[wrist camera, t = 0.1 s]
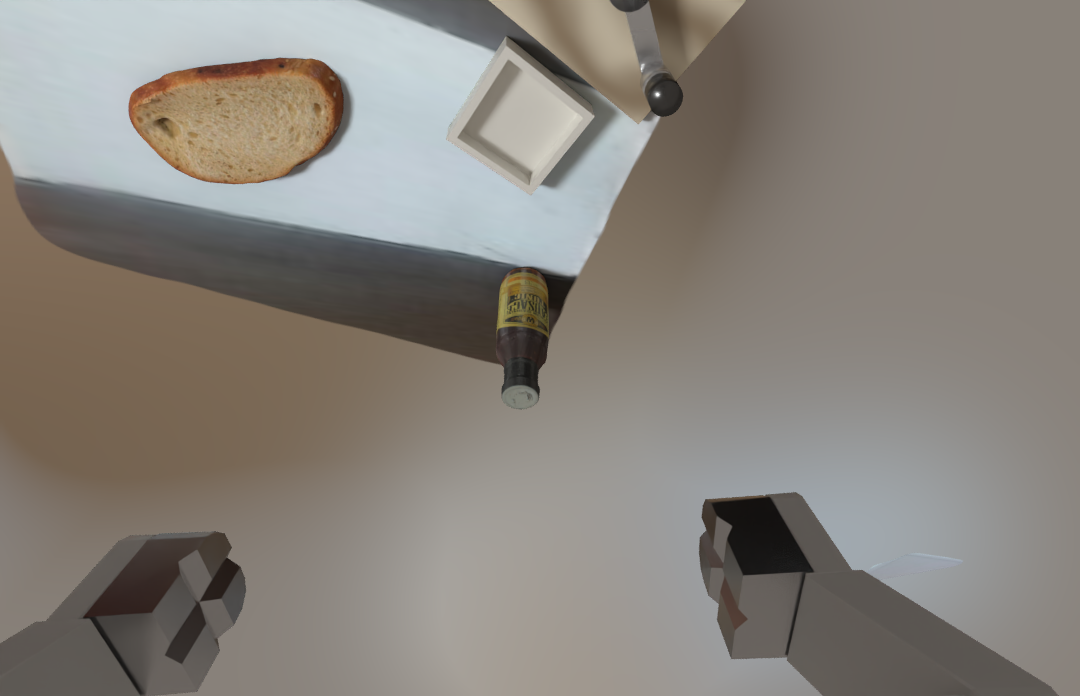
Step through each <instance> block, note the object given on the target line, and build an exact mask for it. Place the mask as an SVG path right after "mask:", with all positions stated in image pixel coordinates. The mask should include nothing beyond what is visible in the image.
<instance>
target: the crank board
mask: <svg viewBox="0 0 1080 696" xmlns="http://www.w3.org/2000/svg"><path fill="white" fill-rule="evenodd" d="M489 1H490V2H491V3H493V4H494V5H495V6H496V7H498V8H499V9H500V10H501V11H502V12H504V13H505V14H506V15H507V16H508V17H510V18H511V19H512V20H513V21H514V22H516V23H517V24H518V25H519V26H520V27H522V28H523V29H524V30H525V31H526V32H528V33H529V34H530V35H531V36H532V37H534V38H535V39H536V40H537V41H538V42H540V43H541V44H542V45H543V46H545V47H546V48H547V49H548V50H549V51H551V52H552V53H553V54H554V55H555V56H557V57H558V58H559V59H560V60H561V61H563V62H564V63H565V64H566V65H567V66H569V67H570V68H571V69H572V70H573V71H575V72H576V73H577V74H578V75H579V76H581V77H582V78H583V79H584V80H585V81H587V82H588V83H589V84H590V85H592V86H593V87H594V88H595V89H596V90H598V91H599V92H600V93H601V94H602V95H604V96H605V97H606V98H607V99H608V100H610V101H611V102H612V103H613V104H614V105H616V106H617V107H618V108H619V109H620V110H622V111H623V112H624V113H625V114H626V115H628V116H629V117H630V118H631V119H632V120H634V121H635V122H636V123H637V124H639V123H640V122H641V121H642V120H643V119H644V118H645V116H646V115H647V114H648V113H649V112H650V111H651V108H650V106H649V104H648V101H647V99H646V97H645V95H644V93H643V91H642V89H641V86H640V78H641V72H640V69H639V65H638V61H637V57H636V54H635V50H634V46H633V43H632V39H631V35H630V31H629V28H628V24H627V20H626V17H625V13H624V12H623V11H620V10H618V9H617V8H615V7H614V6H613V5H612V3H611V2H610V0H489ZM745 1H746V0H649V5H650V9H651V13H652V17H653V22H654V26H655V30H656V34H657V38H658V43H659V47H660V51H661V55H662V60H663V64H664V65H665V66H667V67H668V69H669V70H670V72H671V73H672V75H673V77H674V78H675V80H676V81H677V80H678V78H679V77H680V76H681V75H682V74H683V73H684V72H685V70H686V69H687V68H688V67H689V66H690V65H691V64H692V62H693V61H694V60H695V59H696V58H697V57H698V55H699V54H700V53H701V52H702V51H703V50H704V49H705V47H706V46H707V45H708V44H709V43H710V42H711V41H712V39H713V38H714V37H715V36H716V35H717V34H718V32H719V31H720V30H721V29H722V28H723V27H724V26H725V24H726V23H727V22H728V21H729V20H730V19H731V18H732V16H733V15H734V14H735V13H736V12H737V11H738V9H739V8H740V7H741V6H742V5H743V4H744V2H745Z"/></svg>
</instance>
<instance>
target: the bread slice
mask: <svg viewBox="0 0 1080 696" xmlns="http://www.w3.org/2000/svg"><path fill="white" fill-rule="evenodd" d="M342 113H343V93H342V89H341V83H340V81H339V79H338V77H337V76H336V74H335V73H334V72H333V71H332V70H331V69H330V68H329V67H328V66H327V65H326V64H325V63H323V62H322V61H319V60H315V59H298V58H293V59H289V58H276V59H261V60H257V61H251V62H241V63H232V64H222V65H212V66H204V67H198V68H192V69H187V70H183V71H176V72H172V73H168V74H166V75H164V76H162V77H161V78H160V79H158V80H155V81H152V82H149V83H147V84H145V85H143V86H141V87H139V88H138V89H136V90H135V91H134V92H133V93H132V94H131V97H130V101H129V117H130V120H131V122H132V124H133V126H134V128H135V129H136V131H137V132H138V133H139V134H140V136H141V137H142V138H143V139H144V140H145V141H146V142H147V143H148V144H149V145H150V146H151V147H152V148H153V149H154V150H155V151H156V152H157V153H158V155H159V156H161V157H162V158H163V159H164V160H165V161H166V162H167V163H169V164H170V165H171V166H172V167H174V168H175V169H177V170H179V171H181V172H183V173H185V174H187V175H189V176H191V177H193V178H196V179H199V180H202V181H206V182H213V183H226V184H245V183H260V182H264V181H268V180H273V179H276V178H279V177H282V176H285V175H287V174H288V173H289V172H290V171H291V170H292V169H293V168H294V167H295V166H297V165H300V164H302V163H304V162H305V161H307V160H309V159H310V158H312V157H314V156H315V155H317V154H318V153H319V152H320V151H321V150H323V149H324V148H325V147H326V146H327V145H328V143H329V142H330V141H331V139H332V138H333V136H334V134H335V133H336V131H337V129H338V127H339V125H340V122H341V119H342Z"/></svg>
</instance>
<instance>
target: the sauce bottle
mask: <svg viewBox="0 0 1080 696" xmlns="http://www.w3.org/2000/svg"><path fill="white" fill-rule="evenodd" d="M496 337H497V343H496V354H497V357H498V360H499V362H500V363H501V365H502V366H503V367H504V374H505V375H504V384H503V386H502V400H503V402H504V403H505V404H506V405H507V406H509V407H511V408H515V409H527V408H529V407H532V406H534V405H535V404H536V403H537V402H538V400H539V393H540V389H539V386H538V372H539V369H540V368H541V367H542V365H543V364H544V363H545V361H546V358H547V348H548V340H549V331H548V289H547V285H546V281H545V278H544V277H543V275H542V274H540V273H539V272H538V271H536V270H535V269H532V268H524V267H523V268H516V269H513V270H511V271H510V272H509V273H508V274H507V275H506V276H505V277H504V278H503V280H502V285H501V288H500V297H499V310H498V322H497V334H496Z"/></svg>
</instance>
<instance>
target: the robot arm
mask: <svg viewBox="0 0 1080 696" xmlns="http://www.w3.org/2000/svg"><path fill="white" fill-rule="evenodd" d="M702 520H703V522H704V524H705V527H706V531H705V532H704V533H703V535H702V536H701V537H700V545H699V556H700V566H701V572H702V576H703V580H704V583H705V586H706V589H707V592H708V595H709V596H710V597H711V598H712V599H713V600H715V601H716V602H717V603H718V604H719V607H718V617H717V621H718V623H719V626H720V629H721V632H722V635H723V637H724V640H725V643H726V646H727V648H728V651H729V654H730V657H731V659H749V658H779V657H787V661H788V662H789V663H790V664H791V665H792V666H793V667H794V668H795V669H796V670H797V671H798V672H800V674H801V675H802V676H803V677H804V678H806V680H807V681H809V682H810V683H811V684H812V685H813V686H814V687H815V688H816V689H817V690H818V691H819V692H820V693H821V694H822V695H823V696H1058V694H1056V692H1055V691H1054V690H1053V689H1052V687H1051V686H1049V685H1047V684H1046V683H1044V682H1042V681H1041V680H1039V679H1038V678H1036V677H1034V676H1033V675H1031V674H1029V673H1028V672H1026V671H1024V670H1023V669H1021V668H1020V667H1018V666H1017V665H1015V664H1013V663H1012V662H1010V661H1008V660H1007V659H1005V658H1004V657H1002V656H1000V655H999V654H997V653H996V652H994V651H992V650H991V649H989V648H987V647H986V646H984V645H982V644H981V643H979V642H978V641H976V640H974V639H973V638H971V637H969V636H968V635H966V634H965V633H963V632H962V631H960V630H958V629H957V628H955V627H954V626H952V625H950V624H949V623H947V622H945V621H944V620H942V619H940V618H939V617H937V616H936V615H934V614H933V613H931V612H929V611H928V610H926V609H924V608H923V607H921V606H920V605H918V604H916V603H915V602H913V601H911V600H910V599H908V598H907V597H905V596H903V595H902V594H900V593H899V592H897V591H895V590H894V589H892V588H890V587H889V586H887V585H886V584H884V583H882V582H881V581H879V580H878V579H876V578H874V577H873V576H871V575H869V574H868V573H866V572H865V571H863V570H852V569H851V568H850V566H849V565H848V563H847V562H846V560H845V559H844V557H843V556H842V554H841V553H840V552H839V550H838V549H837V547H836V546H835V544H834V543H833V541H832V540H831V538H830V537H829V535H828V534H827V532H826V531H825V529H824V528H823V526H822V525H821V523H820V522H819V520H818V519H817V518H816V516H815V515H814V513H813V512H812V510H811V509H810V507H809V506H808V504H807V503H806V501H805V500H804V499H803V497H802V496H801V495H799V494H798V493H796V492H793V493H782V494H768V495H765V496H763V495H759V496H745V497H732V498H718V499H706V500H705V502H704V504H703V509H702ZM231 548H232V547H231V545H230V543H229V541H228V539H227V537H226V535H225V533H220V532H216V531H214V532H191V533H190V532H189V533H164V534H158V535H130V536H128V537H126V538H124V539H122V540H120V541H118V542H117V543H116V544H115V545H114V546H113V548H112V549H111V550H110V551H109V552H108V553H107V554H106V555H105V556H104V557H103V559H102V560H101V561H100V562H99V563H98V564H97V565H96V566H95V567H94V568H93V569H92V571H91V572H90V573H89V574H88V575H87V576H86V577H85V578H84V579H83V580H82V582H81V583H80V584H79V585H78V586H77V587H76V588H75V589H74V590H73V592H72V593H71V594H70V595H69V596H68V597H67V598H66V599H65V600H64V601H63V602H62V604H61V605H60V606H59V607H58V608H57V609H56V610H55V611H54V612H53V614H52V615H51V616H50V617H49V618H48V619H47V620H46V621H42V622H35V623H33V624H31V625H30V626H28V627H27V628H25V629H23V630H22V631H20V632H18V633H17V634H15V635H13V636H12V637H10V638H8V639H7V640H5V641H3V642H2V643H0V696H155V695H166V694H177V693H186V692H187V693H188V692H197V691H198V689H199V687H200V686H201V684H202V682H203V680H204V678H205V676H206V675H207V673H208V671H209V669H210V667H211V666H212V664H213V662H214V660H215V658H216V657H217V655H218V653H219V651H220V649H219V644H218V639H217V638H219V637H220V636H221V635H222V634H223V633H225V632H226V631H227V630H228V629H230V628H231V627H232V626H233V625H234V624H235V622H236V620H237V618H238V616H239V614H240V612H241V610H242V607H243V603H244V598H245V593H246V585H245V577H244V575H243V572H242V570H241V567H240V566H238V565H237V564H236V563H234V562H233V561H231V560H230V559H228V558H227V557H228V555H229V552H230V550H231Z"/></svg>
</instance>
